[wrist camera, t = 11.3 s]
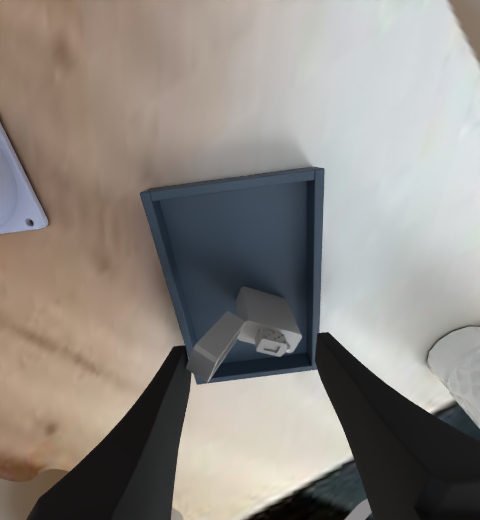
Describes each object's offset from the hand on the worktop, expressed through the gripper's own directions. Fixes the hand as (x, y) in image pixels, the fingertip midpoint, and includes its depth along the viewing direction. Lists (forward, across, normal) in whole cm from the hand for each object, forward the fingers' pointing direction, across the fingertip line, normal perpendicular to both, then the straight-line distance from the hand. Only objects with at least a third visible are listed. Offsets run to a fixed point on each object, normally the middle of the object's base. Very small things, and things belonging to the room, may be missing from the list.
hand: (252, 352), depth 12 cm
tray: (+7, 0, 0) cm, 7 cm away
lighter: (+7, 0, +1) cm, 7 cm away
